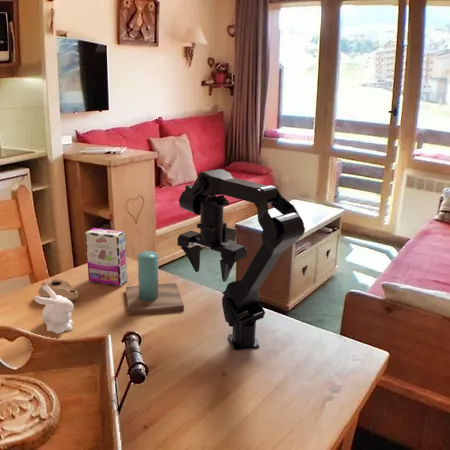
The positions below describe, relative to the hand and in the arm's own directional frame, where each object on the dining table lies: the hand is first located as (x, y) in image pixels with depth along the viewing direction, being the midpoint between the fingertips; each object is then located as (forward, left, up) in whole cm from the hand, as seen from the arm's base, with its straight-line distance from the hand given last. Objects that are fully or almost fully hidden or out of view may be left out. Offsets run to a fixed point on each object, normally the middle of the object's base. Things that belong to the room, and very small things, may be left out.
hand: (210, 276), depth 134 cm
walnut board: (+14, +13, -13) cm, 24 cm away
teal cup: (+14, +15, -11) cm, 23 cm away
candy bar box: (+30, +26, -13) cm, 42 cm away
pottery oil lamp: (+20, +40, -13) cm, 46 cm away
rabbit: (+4, +39, -13) cm, 41 cm away
